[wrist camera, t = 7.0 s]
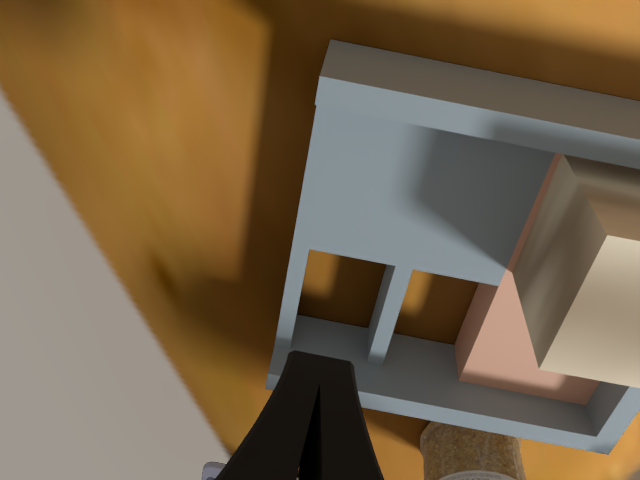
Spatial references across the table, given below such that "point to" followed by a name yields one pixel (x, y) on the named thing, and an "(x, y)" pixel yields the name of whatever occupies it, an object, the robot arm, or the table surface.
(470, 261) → the trap box
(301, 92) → the table surface
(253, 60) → the table surface
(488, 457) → the sprinkles bottle
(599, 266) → the beech block
